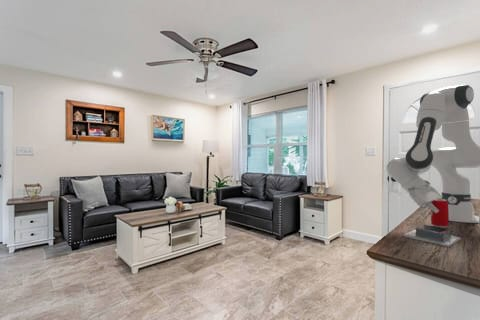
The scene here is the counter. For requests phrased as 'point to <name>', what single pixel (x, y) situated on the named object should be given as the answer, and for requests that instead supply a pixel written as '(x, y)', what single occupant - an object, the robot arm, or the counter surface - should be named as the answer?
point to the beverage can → (440, 213)
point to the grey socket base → (433, 235)
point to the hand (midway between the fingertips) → (441, 210)
